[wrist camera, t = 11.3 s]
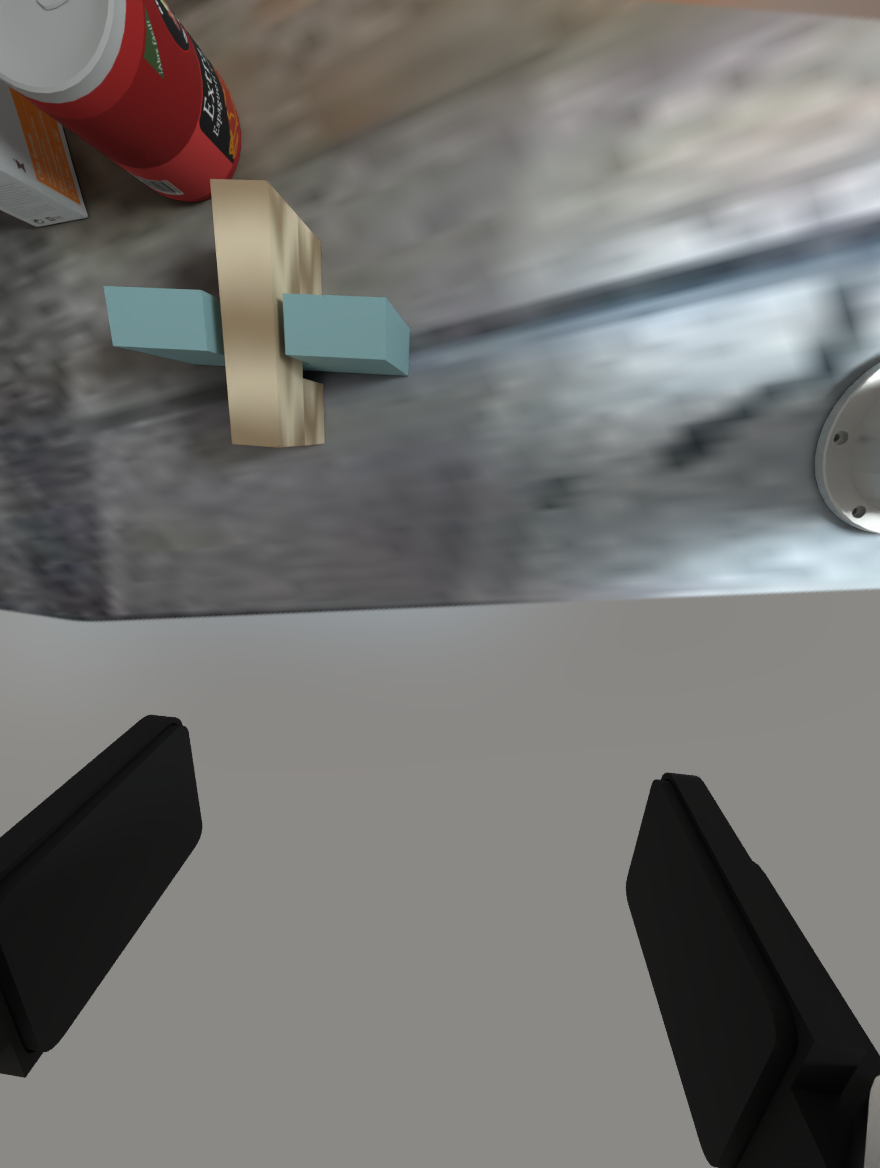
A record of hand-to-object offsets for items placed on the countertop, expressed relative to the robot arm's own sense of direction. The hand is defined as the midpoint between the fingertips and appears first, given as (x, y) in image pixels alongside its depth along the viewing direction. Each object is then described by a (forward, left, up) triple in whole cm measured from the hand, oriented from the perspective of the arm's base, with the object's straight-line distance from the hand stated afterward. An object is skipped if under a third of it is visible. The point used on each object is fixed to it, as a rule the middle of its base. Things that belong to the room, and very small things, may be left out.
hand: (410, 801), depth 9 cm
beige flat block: (+13, -12, -28) cm, 33 cm away
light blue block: (+13, -12, -28) cm, 33 cm away
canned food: (+20, -24, -28) cm, 42 cm away
